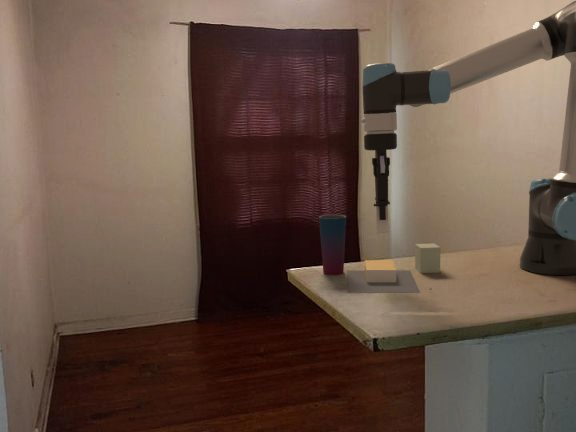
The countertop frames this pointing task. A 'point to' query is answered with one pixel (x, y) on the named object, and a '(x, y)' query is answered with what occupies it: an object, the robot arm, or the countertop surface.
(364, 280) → the mat
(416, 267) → the sage block
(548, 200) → the robot arm
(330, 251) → the cup
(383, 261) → the ochre slab
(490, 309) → the countertop surface
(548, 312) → the countertop surface
